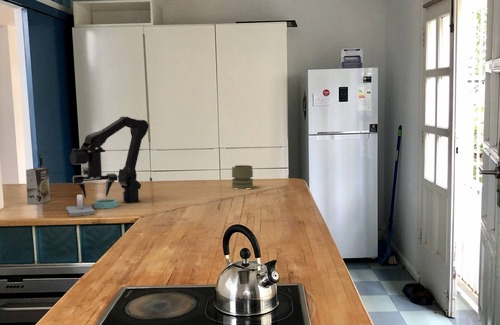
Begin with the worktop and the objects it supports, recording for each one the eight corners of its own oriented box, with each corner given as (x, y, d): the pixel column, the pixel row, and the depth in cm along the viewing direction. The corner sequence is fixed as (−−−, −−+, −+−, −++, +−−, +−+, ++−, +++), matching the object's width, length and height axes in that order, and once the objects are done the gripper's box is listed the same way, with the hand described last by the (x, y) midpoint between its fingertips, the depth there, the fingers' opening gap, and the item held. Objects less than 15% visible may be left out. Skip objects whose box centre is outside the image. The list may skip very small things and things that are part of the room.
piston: (254, 165, 288) (250, 167, 277) (254, 186, 289) (250, 190, 278) (234, 165, 290) (229, 167, 279) (235, 186, 291) (229, 189, 280)
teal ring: (114, 203, 242) (114, 198, 242) (119, 207, 234) (118, 201, 233) (93, 205, 238) (93, 200, 238) (96, 209, 230) (96, 203, 229)
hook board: (90, 208, 233) (89, 191, 232) (95, 214, 219) (94, 196, 218) (66, 210, 229) (65, 193, 228) (70, 216, 215) (69, 198, 214)
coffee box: (39, 204, 242) (37, 169, 241) (27, 203, 244) (25, 169, 242) (50, 200, 251) (48, 167, 249) (38, 200, 252) (36, 167, 251)
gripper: (112, 159, 243) (113, 192, 245) (70, 162, 235) (72, 196, 237) (117, 162, 233) (118, 196, 235) (73, 164, 225) (75, 200, 227)
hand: (96, 197), depth 234 cm, fingers open, 9 cm apart
